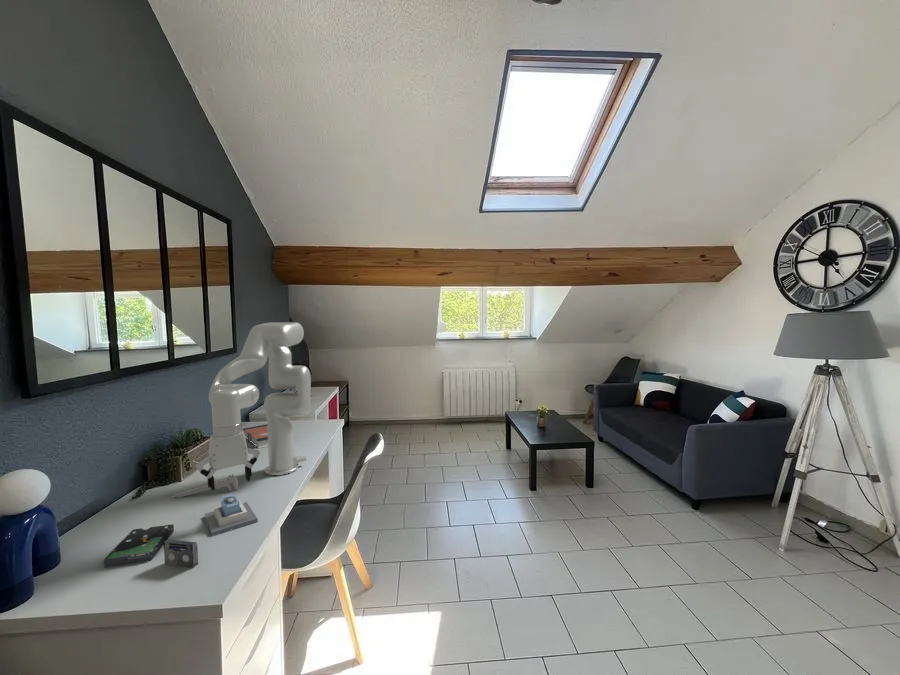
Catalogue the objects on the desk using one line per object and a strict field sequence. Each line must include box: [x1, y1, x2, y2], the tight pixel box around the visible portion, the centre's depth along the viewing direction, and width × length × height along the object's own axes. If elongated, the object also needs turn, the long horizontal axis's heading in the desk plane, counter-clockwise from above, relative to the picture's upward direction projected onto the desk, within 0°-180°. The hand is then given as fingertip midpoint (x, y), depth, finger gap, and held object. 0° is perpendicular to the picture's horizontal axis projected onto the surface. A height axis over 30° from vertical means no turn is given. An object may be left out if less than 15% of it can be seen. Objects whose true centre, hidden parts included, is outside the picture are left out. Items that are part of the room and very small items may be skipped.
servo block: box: [220, 493, 240, 517], centre depth 121 cm, size 4×9×6 cm, turn 39°
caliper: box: [171, 473, 239, 499], centre depth 139 cm, size 20×1×6 cm, turn 106°
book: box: [242, 423, 268, 447], centre depth 202 cm, size 26×18×5 cm
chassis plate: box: [203, 500, 259, 536], centre depth 121 cm, size 12×14×3 cm
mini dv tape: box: [163, 539, 199, 569], centre depth 99 cm, size 8×2×6 cm, turn 81°
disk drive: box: [103, 523, 175, 569], centre depth 106 cm, size 10×3×15 cm
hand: (230, 484), depth 121 cm, fingers open, 9 cm apart
